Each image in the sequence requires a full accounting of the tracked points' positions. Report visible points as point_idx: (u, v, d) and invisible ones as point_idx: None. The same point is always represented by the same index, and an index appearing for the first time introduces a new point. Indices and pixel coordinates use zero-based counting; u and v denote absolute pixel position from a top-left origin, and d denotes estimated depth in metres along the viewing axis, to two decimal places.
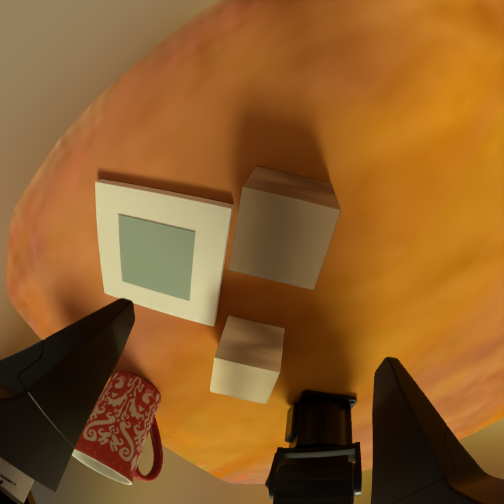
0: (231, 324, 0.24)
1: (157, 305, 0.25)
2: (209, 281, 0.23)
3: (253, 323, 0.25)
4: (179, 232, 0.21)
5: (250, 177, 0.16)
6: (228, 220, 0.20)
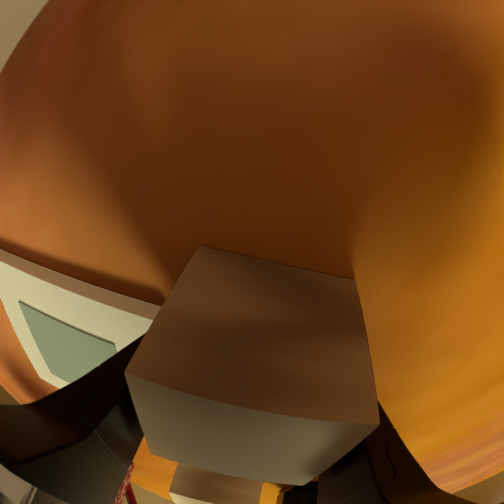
0: None
1: None
2: None
3: None
4: (93, 341, 0.11)
5: (163, 310, 0.06)
6: None
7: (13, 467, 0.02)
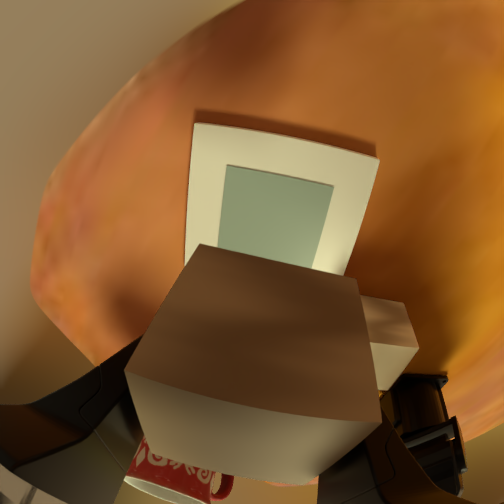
0: None
1: None
2: (340, 249, 0.19)
3: (374, 299, 0.21)
4: (313, 187, 0.17)
5: (163, 308, 0.06)
6: (374, 173, 0.16)
7: (13, 467, 0.02)
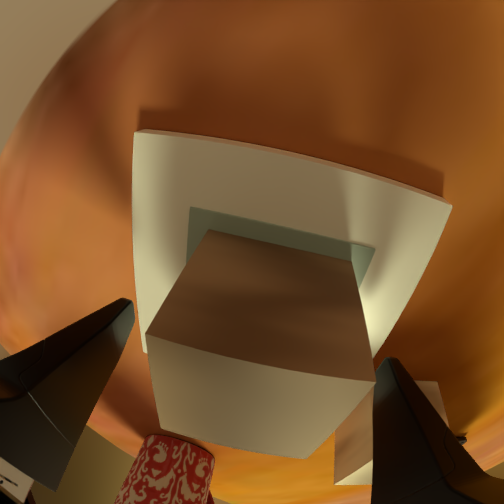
0: None
1: None
2: (370, 335, 0.11)
3: None
4: (340, 249, 0.10)
5: (178, 282, 0.07)
6: (442, 228, 0.09)
7: None
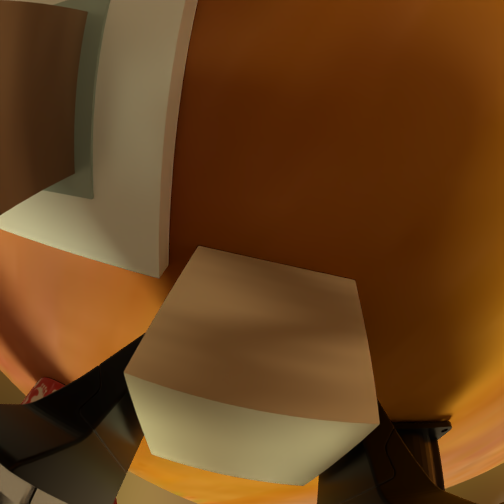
0: (203, 267, 0.08)
1: (39, 227, 0.09)
2: (138, 119, 0.07)
3: (270, 268, 0.09)
4: (78, 5, 0.05)
5: None
6: None
7: (13, 467, 0.02)
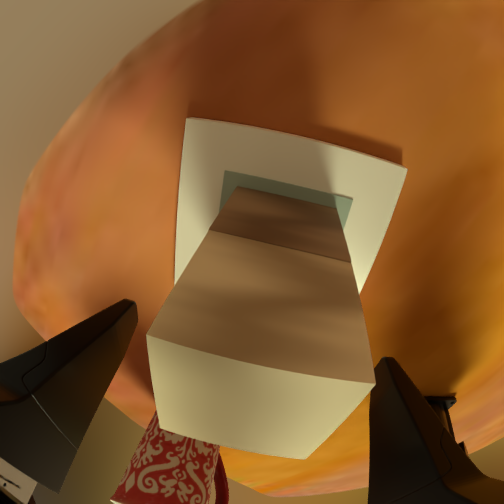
0: (214, 248, 0.09)
1: None
2: (355, 271, 0.16)
3: (274, 250, 0.10)
4: (328, 199, 0.14)
5: (224, 209, 0.12)
6: (401, 185, 0.13)
7: None
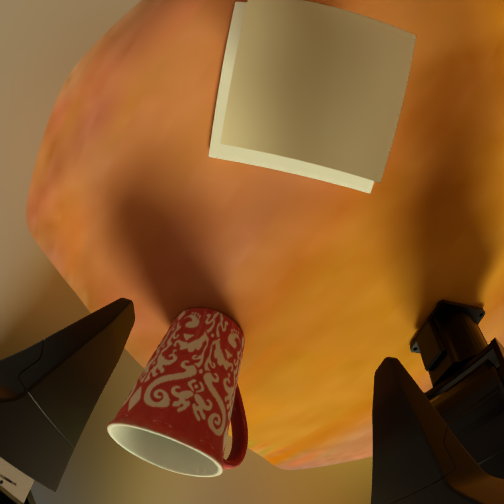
0: None
1: (296, 163, 0.18)
2: None
3: None
4: None
5: None
6: None
7: None
